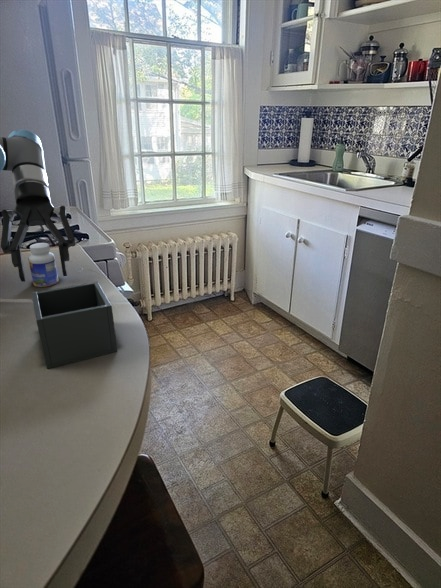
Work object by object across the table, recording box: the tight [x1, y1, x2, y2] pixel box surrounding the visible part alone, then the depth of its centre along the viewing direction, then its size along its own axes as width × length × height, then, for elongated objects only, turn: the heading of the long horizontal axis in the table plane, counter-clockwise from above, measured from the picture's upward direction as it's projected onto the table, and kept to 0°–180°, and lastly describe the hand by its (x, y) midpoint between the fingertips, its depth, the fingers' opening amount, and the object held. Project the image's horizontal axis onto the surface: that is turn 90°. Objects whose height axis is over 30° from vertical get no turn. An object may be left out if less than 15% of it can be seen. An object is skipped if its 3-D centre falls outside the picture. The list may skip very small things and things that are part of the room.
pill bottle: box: [28, 242, 59, 288], centre depth 88 cm, size 5×5×10 cm
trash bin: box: [31, 281, 118, 370], centre depth 66 cm, size 11×11×9 cm
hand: (43, 276), depth 86 cm, fingers open, 8 cm apart
